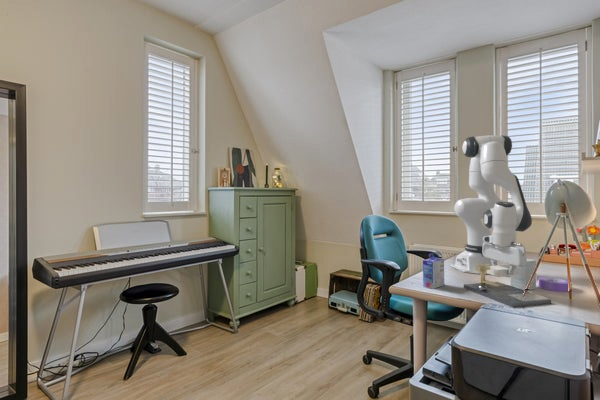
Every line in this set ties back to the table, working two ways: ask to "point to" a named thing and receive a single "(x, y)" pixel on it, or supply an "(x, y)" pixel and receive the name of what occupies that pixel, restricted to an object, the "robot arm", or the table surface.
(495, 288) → the plate
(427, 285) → the ink cartridge box
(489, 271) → the cover lid
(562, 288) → the masking tape
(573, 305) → the table surface
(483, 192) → the robot arm
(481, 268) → the t key
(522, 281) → the supplement box
